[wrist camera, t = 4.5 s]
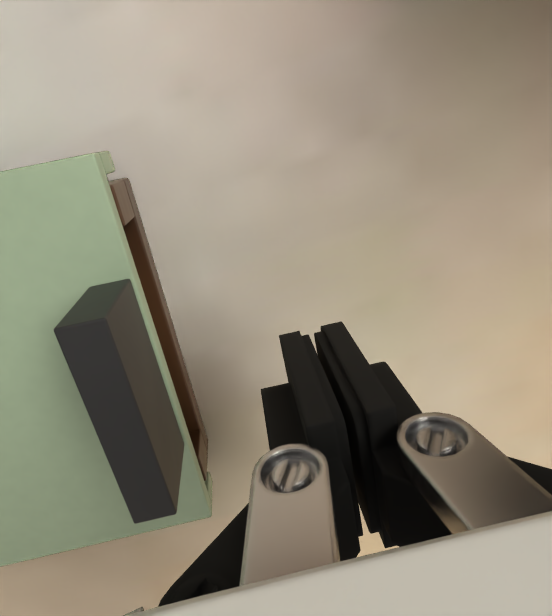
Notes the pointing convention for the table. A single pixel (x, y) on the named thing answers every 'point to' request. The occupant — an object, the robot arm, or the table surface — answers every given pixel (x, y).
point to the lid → (82, 374)
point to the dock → (160, 315)
